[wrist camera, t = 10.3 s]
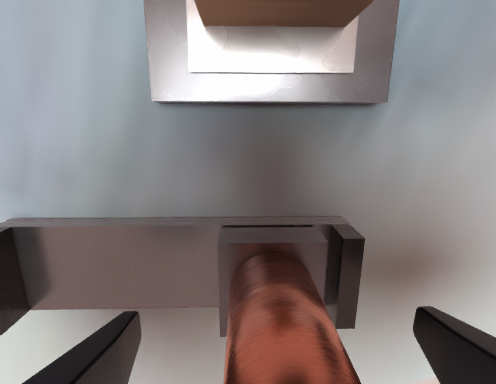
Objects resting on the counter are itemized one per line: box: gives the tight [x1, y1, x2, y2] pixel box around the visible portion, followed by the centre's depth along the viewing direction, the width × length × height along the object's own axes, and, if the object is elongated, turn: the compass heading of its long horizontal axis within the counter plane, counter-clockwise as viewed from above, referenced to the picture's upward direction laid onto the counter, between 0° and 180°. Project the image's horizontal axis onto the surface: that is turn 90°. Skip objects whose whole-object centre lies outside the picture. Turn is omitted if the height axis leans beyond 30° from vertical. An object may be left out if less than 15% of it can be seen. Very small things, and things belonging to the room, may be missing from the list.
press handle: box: [218, 227, 361, 384], centre depth 9 cm, size 4×4×6 cm
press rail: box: [0, 216, 365, 335], centre depth 12 cm, size 15×4×2 cm, turn 90°
